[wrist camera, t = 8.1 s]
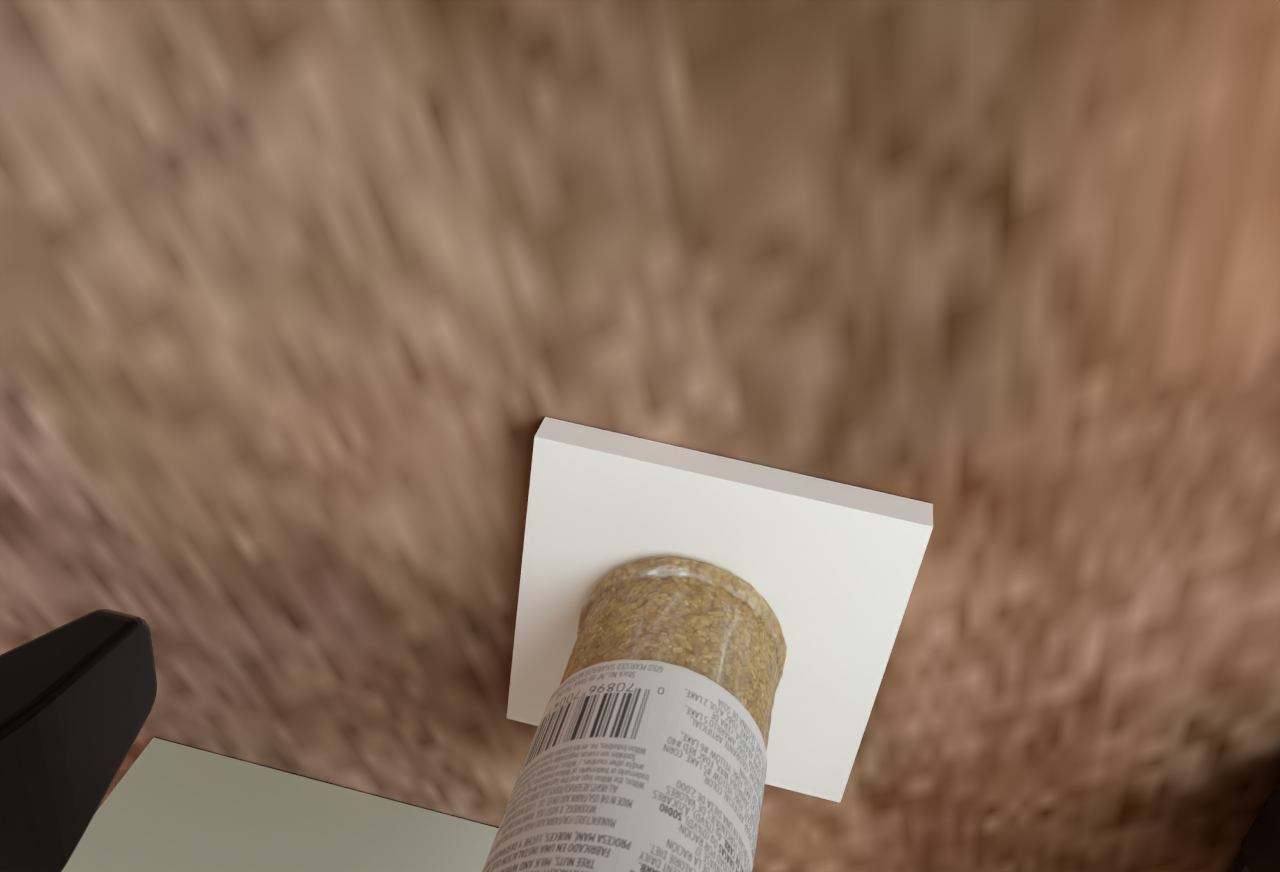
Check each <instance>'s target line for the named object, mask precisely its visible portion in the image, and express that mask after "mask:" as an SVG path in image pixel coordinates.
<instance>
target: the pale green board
mask: <svg viewBox="0 0 1280 872" xmlns="http://www.w3.org/2000/svg"><path fill="white" fill-rule="evenodd" d="M498 829H499V828H495V827H492V826H488V825H484V824H480V823H476V822H473V821H469V820H465V819H461V818H457V817H454V816H450V815H446V814H442V813H438V812H435V811H431V810H427V809H423V808H419V807H416V806H412V805H408V804H404V803H400V802H397V801H393V800H389V799H385V798H381V797H378V796H374V795H370V794H366V793H363V792H359V791H355V790H351V789H347V788H344V787H340V786H336V785H332V784H328V783H325V782H321V781H317V780H313V779H309V778H306V777H302V776H298V775H294V774H290V773H287V772H283V771H279V770H275V769H271V768H268V767H264V766H260V765H256V764H252V763H249V762H245V761H241V760H237V759H233V758H230V757H226V756H222V755H218V754H214V753H211V752H207V751H203V750H199V749H195V748H192V747H188V746H184V745H180V744H177V743H173V742H169V741H165V740H161V739H158V738H154V737H153V739H152V740H151V741H150V743H149V744H148V745H147V746H146V748H145V749H144V750H143V752H142V753H141V754H140V756H139V757H138V758H137V759H136V761H135V762H134V763H133V765H132V766H131V767H130V769H129V770H128V771H127V773H126V774H125V775H124V776H123V778H122V779H121V780H120V782H119V783H118V784H117V786H116V787H115V788H114V790H113V791H112V792H111V793H110V795H109V796H108V797H107V799H106V800H105V801H104V803H103V804H102V805H101V806H100V808H99V809H98V810H97V812H96V813H95V815H94V816H93V818H92V820H91V822H90V824H89V826H88V827H87V829H86V831H85V833H84V835H83V837H82V838H81V840H80V842H79V844H78V845H77V847H76V849H75V851H74V852H73V854H72V856H71V857H70V859H69V861H68V863H67V864H66V866H65V867H64V869H63V870H62V872H482V870H483V868H484V865H485V863H486V860H487V857H488V855H489V852H490V850H491V847H492V844H493V842H494V839H495V836H496V834H497V831H498Z"/></svg>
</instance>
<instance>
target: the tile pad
mask: <svg viewBox="0 0 1280 872" xmlns="http://www.w3.org/2000/svg"><path fill="white" fill-rule="evenodd" d="M932 529H933V504H931V503H927V502H922V501H918V500H913V499H909V498H904V497H900V496H895V495H891V494H887V493H882V492H878V491H873V490H869V489H864V488H860V487H855V486H851V485H847V484H842V483H838V482H833V481H829V480H824V479H820V478H815V477H811V476H806V475H802V474H798V473H793V472H789V471H784V470H780V469H775V468H771V467H766V466H762V465H758V464H753V463H749V462H744V461H740V460H735V459H731V458H726V457H722V456H717V455H713V454H709V453H704V452H700V451H695V450H691V449H686V448H682V447H677V446H673V445H669V444H664V443H660V442H655V441H651V440H646V439H642V438H637V437H633V436H628V435H624V434H620V433H615V432H611V431H606V430H602V429H597V428H593V427H588V426H584V425H580V424H575V423H571V422H566V421H562V420H557V419H553V418H548V417H545V418H544V420H543V422H542V424H541V425H540V427H539V429H538V431H537V433H536V435H535V436H534V446H533V456H532V466H531V477H530V487H529V497H528V507H527V517H526V527H525V537H524V547H523V557H522V567H521V577H520V587H519V598H518V608H517V618H516V628H515V638H514V648H513V658H512V668H511V678H510V688H509V698H508V708H507V719H511V720H515V721H519V722H523V723H527V724H531V725H535V726H539V723H540V721H541V718H542V716H543V713H544V711H545V709H546V706H547V704H548V702H549V700H550V698H551V696H552V695H553V693H554V692H555V690H556V689H557V688H558V687H559V686H560V683H561V680H562V678H563V675H564V671H565V669H566V667H567V664H568V661H569V658H570V655H571V653H572V650H573V647H574V645H575V642H576V640H577V638H578V633H577V631H578V624H579V617H580V612H581V610H582V607H583V605H584V604H585V603H586V602H587V601H588V599H589V597H590V594H591V593H592V591H593V589H594V588H595V586H596V585H597V584H598V583H599V582H600V581H602V580H603V579H604V578H605V577H606V576H608V575H610V574H611V573H613V572H615V571H616V570H617V569H619V568H621V567H623V566H625V565H627V564H630V563H637V562H640V561H642V560H644V559H651V558H656V557H672V556H676V557H683V558H689V559H692V560H696V561H701V562H706V563H710V564H712V565H714V566H716V567H718V568H720V569H723V570H726V571H729V572H731V573H733V574H735V575H736V576H738V577H740V578H741V579H743V580H744V581H746V582H748V583H750V584H751V585H752V586H753V587H754V588H755V590H756V591H757V592H758V593H759V594H760V595H761V596H762V597H764V599H765V600H766V601H767V603H768V604H769V606H770V607H771V608H772V610H773V612H774V613H775V615H776V617H777V619H778V621H779V623H780V626H781V629H782V634H783V636H784V639H785V642H786V646H787V651H786V659H785V664H784V668H783V675H782V677H781V679H780V682H779V685H778V687H777V690H776V692H775V698H774V705H773V708H772V713H771V725H770V730H769V740H768V745H767V751H766V756H767V771H766V779H765V784H768V785H772V786H776V787H780V788H784V789H788V790H792V791H796V792H800V793H804V794H808V795H812V796H816V797H820V798H823V799H827V800H831V801H835V802H839V803H840V802H841V799H842V796H843V793H844V790H845V787H846V784H847V781H848V778H849V775H850V772H851V769H852V766H853V763H854V760H855V757H856V754H857V751H858V748H859V745H860V742H861V739H862V736H863V733H864V731H865V728H866V725H867V722H868V719H869V716H870V713H871V710H872V707H873V704H874V701H875V698H876V695H877V692H878V689H879V686H880V683H881V680H882V677H883V674H884V671H885V668H886V665H887V662H888V659H889V656H890V653H891V650H892V647H893V644H894V641H895V638H896V636H897V633H898V630H899V627H900V624H901V621H902V618H903V615H904V612H905V609H906V606H907V603H908V600H909V597H910V594H911V591H912V588H913V585H914V582H915V579H916V576H917V573H918V570H919V567H920V564H921V561H922V558H923V555H924V552H925V549H926V546H927V544H928V541H929V538H930V535H931V532H932Z"/></svg>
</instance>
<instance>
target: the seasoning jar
mask: <svg viewBox="0 0 1280 872" xmlns="http://www.w3.org/2000/svg"><path fill="white" fill-rule="evenodd" d="M577 633H578V638H577V640H576V642H575V645H574V647H573V650H572V653H571V655H570V658H569V661H568V664H567V667H566V669H565V671H564V675H563V678H562V680H561V683H560V686H559V687H558V688H557V689H556V690H555V692H554V693H553V695H552V696H551V698H550V700H549V702H548V704H547V706H546V709H545V711H544V713H543V716H542V718H541V721H540V723H539V726H538V729H537V731H536V734H535V736H534V739H533V741H532V744H531V746H530V749H529V752H528V754H527V757H526V759H525V762H524V764H523V767H522V769H521V772H520V774H519V777H518V779H517V782H516V784H515V787H514V790H513V792H512V795H511V797H510V800H509V803H508V805H507V808H506V810H505V813H504V816H503V818H502V821H501V823H500V826H499V829H498V831H497V834H496V836H495V839H494V842H493V844H492V847H491V850H490V852H489V855H488V857H487V860H486V863H485V865H484V868H483V870H482V872H752V869H753V863H754V856H755V850H756V843H757V836H758V827H759V821H760V814H761V808H762V801H763V793H764V786H765V779H766V771H767V756H766V751H767V745H768V740H769V730H770V725H771V713H772V708H773V705H774V698H775V692H776V690H777V687H778V685H779V682H780V679H781V677H782V675H783V668H784V664H785V659H786V651H787V646H786V642H785V639H784V636H783V634H782V629H781V626H780V623H779V621H778V619H777V617H776V615H775V613H774V612H773V610H772V608H771V607H770V606H769V604H768V603H767V601H766V600H765V599H764V597H762V596H761V595H760V594H759V593H758V592H757V591H756V590H755V588H754V587H753V586H752V585H751V584H750V583H748V582H746V581H744V580H743V579H741V578H740V577H738V576H736V575H735V574H733V573H731V572H729V571H726V570H723V569H720V568H718V567H716V566H714V565H712V564H710V563H706V562H701V561H696V560H692V559H689V558H683V557H676V556H672V557H656V558H651V559H644V560H642V561H640V562H637V563H630V564H627V565H625V566H623V567H621V568H619V569H617V570H616V571H615V572H613V573H611V574H610V575H608V576H606V577H605V578H604V579H603V580H602V581H600V582H599V583H598V584H597V585H596V586H595V588H594V589H593V591H592V593H591V594H590V597H589V599H588V601H587V602H586V603H585V604H584V605H583V607H582V610H581V612H580V617H579V624H578V631H577Z"/></svg>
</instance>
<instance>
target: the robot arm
mask: <svg viewBox="0 0 1280 872" xmlns="http://www.w3.org/2000/svg"><path fill="white" fill-rule="evenodd" d="M156 691H157V680H156V672H155V664H154V656H153V648H152V640H151V633H150V628H149V626H148V624H147V623H146V621H145V620H144V619H141V618H140V617H136V616H132V615H128V614H124V613H121V612H117V611H113V610H108V609H101V610H96V611H93V612H91V613H88V614H86V615H84V616H82V617H80V618H78V619H76V620H74V621H72V622H69V623H67V624H65V625H63V626H61V627H59V628H57V629H55V630H52V631H50V632H48V633H46V634H44V635H42V636H40V637H38V638H36V639H33V640H31V641H29V642H27V643H25V644H23V645H21V646H19V647H17V648H14V649H12V650H10V651H8V652H6V653H4V654H2V655H0V872H62V870H63V869H64V867H65V866H66V864H67V863H68V861H69V859H70V857H71V856H72V854H73V852H74V851H75V849H76V847H77V845H78V844H79V842H80V840H81V838H82V837H83V835H84V833H85V831H86V829H87V827H88V826H89V824H90V822H91V820H92V818H93V816H94V815H95V813H96V811H97V809H98V807H99V805H100V804H101V802H102V800H103V798H104V796H105V794H106V793H107V791H108V789H109V787H110V785H111V783H112V781H113V780H114V778H115V776H116V774H117V772H118V770H119V769H120V767H121V765H122V763H123V761H124V759H125V758H126V756H127V754H128V752H129V750H130V748H131V747H132V745H133V743H134V741H135V739H136V737H137V736H138V734H139V732H140V730H141V728H142V726H143V724H144V723H145V721H146V719H147V717H148V715H149V713H150V711H151V709H152V707H153V704H154V701H155V697H156ZM1228 872H1280V782H1279V784H1278V785H1277V787H1276V789H1275V790H1274V792H1273V793H1272V795H1271V796H1270V798H1269V800H1268V801H1267V803H1266V804H1265V806H1264V807H1263V809H1262V811H1261V812H1260V814H1259V815H1258V817H1257V819H1256V820H1255V822H1254V823H1253V825H1252V826H1251V828H1250V830H1249V831H1248V833H1247V834H1246V836H1245V837H1244V839H1243V841H1242V850H1241V852H1240V853H1239V855H1238V857H1237V858H1236V860H1235V861H1234V863H1233V864H1232V866H1231V868H1230V869H1229V871H1228Z"/></svg>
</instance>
